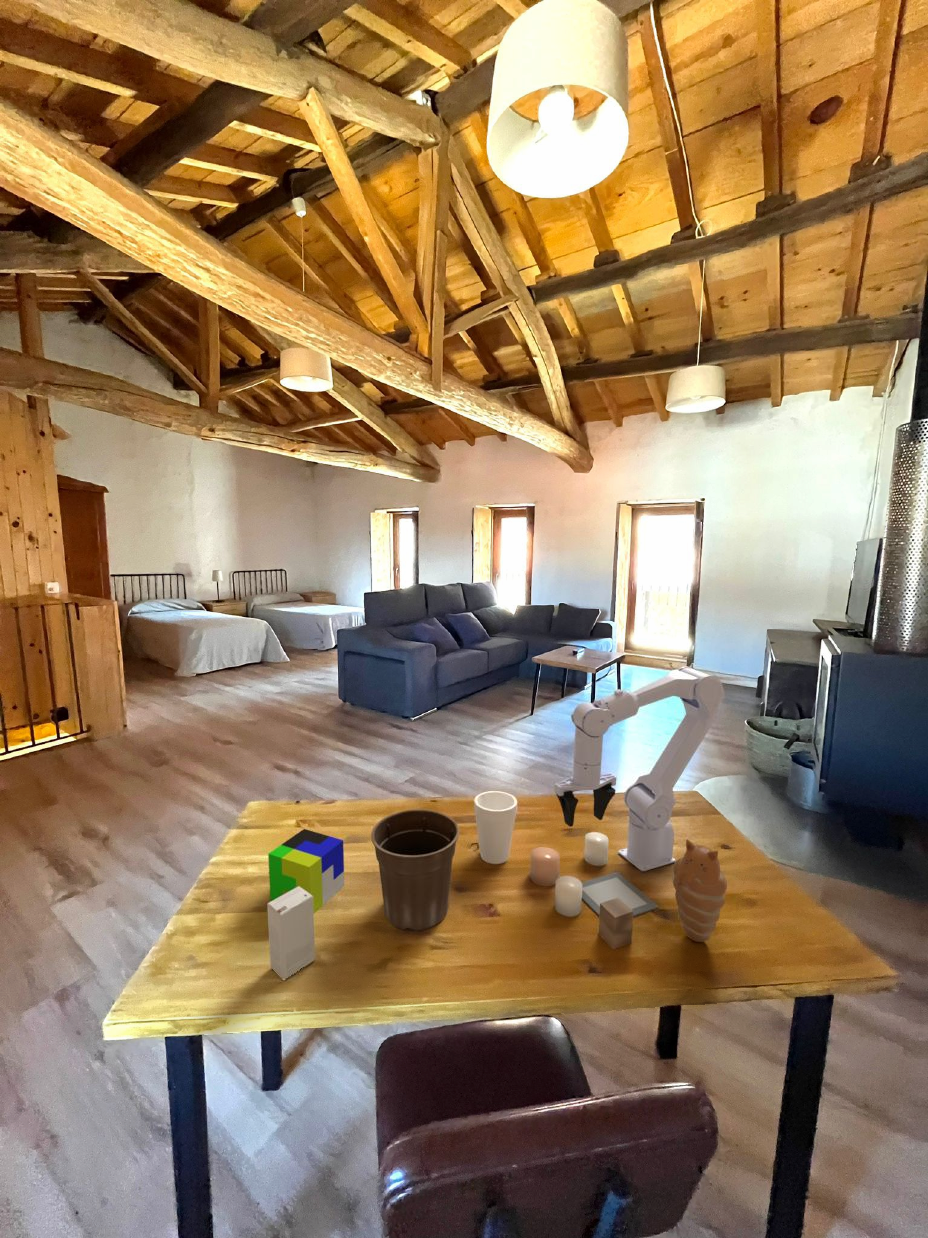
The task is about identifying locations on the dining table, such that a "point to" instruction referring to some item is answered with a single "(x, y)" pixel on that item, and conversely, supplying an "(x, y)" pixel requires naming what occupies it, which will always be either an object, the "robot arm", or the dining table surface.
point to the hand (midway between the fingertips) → (583, 821)
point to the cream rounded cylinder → (596, 849)
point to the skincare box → (291, 932)
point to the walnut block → (615, 923)
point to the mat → (615, 893)
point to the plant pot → (415, 866)
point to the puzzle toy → (308, 866)
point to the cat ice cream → (699, 890)
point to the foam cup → (495, 824)
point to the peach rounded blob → (544, 866)
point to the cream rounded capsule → (568, 896)
